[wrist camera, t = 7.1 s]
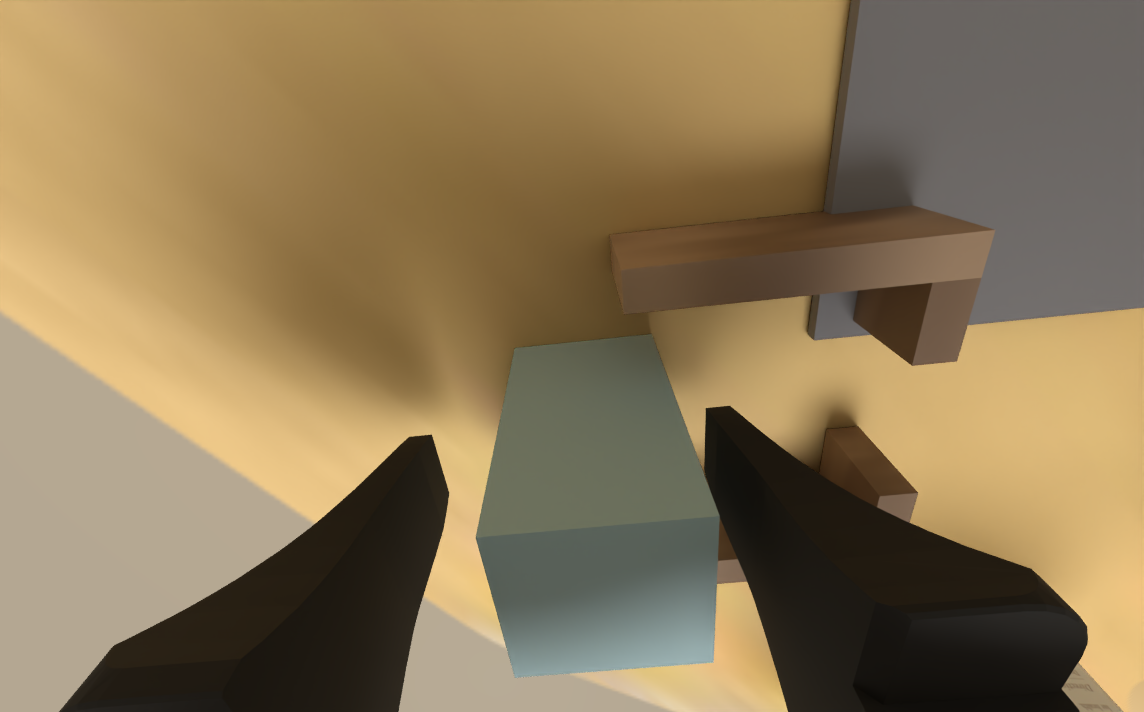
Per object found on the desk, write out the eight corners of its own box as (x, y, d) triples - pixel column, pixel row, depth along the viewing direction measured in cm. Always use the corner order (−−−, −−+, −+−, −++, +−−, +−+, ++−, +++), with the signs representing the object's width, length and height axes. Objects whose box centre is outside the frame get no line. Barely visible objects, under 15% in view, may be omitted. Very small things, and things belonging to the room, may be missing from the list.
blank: (651, 333, 14) (719, 516, 8) (655, 444, 16) (713, 662, 10) (514, 348, 14) (475, 537, 8) (534, 455, 16) (514, 677, 10)
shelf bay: (903, 202, 12) (995, 229, 10) (843, 496, 17) (895, 569, 14) (609, 234, 13) (621, 270, 10) (629, 514, 17) (641, 589, 15)
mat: (1324, -125, 10) (1353, -134, 9) (1130, 302, 14) (1145, 307, 13) (859, -64, 10) (869, -70, 10) (807, 334, 14) (813, 340, 14)
